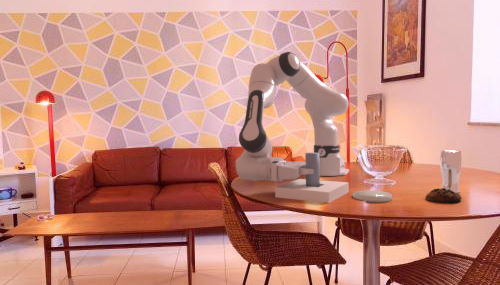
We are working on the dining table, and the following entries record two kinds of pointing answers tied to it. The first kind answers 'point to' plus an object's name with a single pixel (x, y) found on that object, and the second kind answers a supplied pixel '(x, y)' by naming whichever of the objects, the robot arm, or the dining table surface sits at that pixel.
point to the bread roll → (443, 196)
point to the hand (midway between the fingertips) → (315, 169)
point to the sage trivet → (373, 196)
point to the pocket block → (312, 191)
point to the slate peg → (314, 163)
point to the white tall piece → (450, 169)
